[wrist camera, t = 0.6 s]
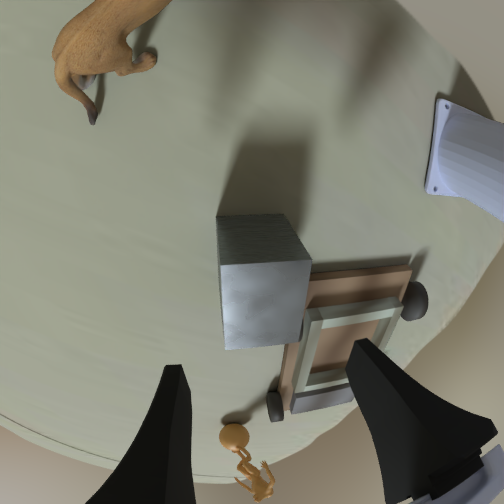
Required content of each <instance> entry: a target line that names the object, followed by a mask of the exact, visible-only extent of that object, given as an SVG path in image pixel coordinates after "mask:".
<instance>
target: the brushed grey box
mask: <svg viewBox="0 0 504 504" xmlns="http://www.w3.org/2000/svg"><path fill="white" fill-rule="evenodd" d="M216 232H217V255H218V275H219V292H220V303H221V313H222V323H223V333H224V342H225V350H230V349H242V348H253V347H263V346H272V345H280V344H288V343H296V342H298V340H299V335H300V330H301V325H302V319H303V314H304V308H305V302H306V296H307V290H308V284H309V278H310V272H311V265H312V258H311V257H310V255H309V254H308V252H307V250H306V249H305V247H304V245H303V244H302V242H301V241H300V239H299V238H298V236H297V234H296V233H295V231H294V230H293V228H292V227H291V225H290V223H289V222H288V220H287V219H286V217H285V216H284V214H265V215H238V216H216Z"/></svg>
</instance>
